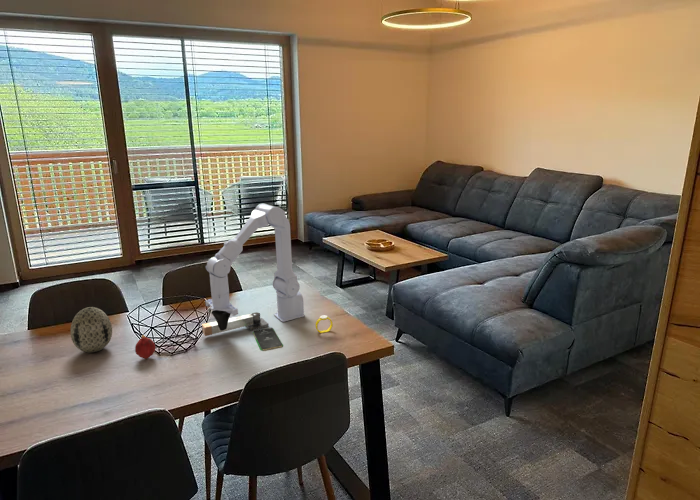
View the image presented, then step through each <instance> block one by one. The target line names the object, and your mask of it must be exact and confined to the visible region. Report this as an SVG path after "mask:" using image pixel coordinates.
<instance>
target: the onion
mask: <svg viewBox="0 0 700 500" xmlns="http://www.w3.org/2000/svg"><path fill="white" fill-rule="evenodd" d="M134 348H135V349H134V350H135V354H136V355H138V357H140V358H142V359H143V360H148V359H149V358H151V356H153V355H154V353H155V351H156V343H155V342H154V340H152V339H151V338H149V337H146V336H145V335H144V334H142V336H141V338H140V339H139V340H138V341H137V342H136V344H135V346H134Z"/></svg>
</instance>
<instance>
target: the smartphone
mask: <svg viewBox="0 0 700 500" xmlns="http://www.w3.org/2000/svg"><path fill="white" fill-rule="evenodd" d="M252 335H253V337H254V339H255V341H256V343H257V346H258V347H259V349H260V351H265V352H266V351H269V350H274V349H280V348H282V347H284V344H283V342H282V341H281V339H280V337H279V335H278V334H277V332H276V331H275V329H274V328H273V327H265V328H260V329H257V330H253V331H252Z"/></svg>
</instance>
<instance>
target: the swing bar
mask: <svg viewBox="0 0 700 500" xmlns="http://www.w3.org/2000/svg"><path fill="white" fill-rule="evenodd" d="M260 318H261V313H260V312H252V313H247V314H243V315H239V316H232V317H229V320H228V324H227V329H225V330H223V331H221V330H220V329H219V326H218V323H217V321H216V320H215V321H212V322H206V323H202V324H201V327H202V328H201V329H202V334H203V335H204V337H208V336H212V335H214V334H219V333H222V332H227V331H231V330H236V329H240V328H244V327H245V328H246V326H249V325H253V324H258V323H260V322H261V320H260Z"/></svg>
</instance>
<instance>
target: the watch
mask: <svg viewBox="0 0 700 500" xmlns="http://www.w3.org/2000/svg"><path fill="white" fill-rule="evenodd" d="M325 320H329V322H330V323H329V324H330V325H329V327H328V328H327V329H324V330H320V329H318V325H319V323H320V322H321V321H325ZM314 325H315V328H316V331H317V332H319V333H320V334H324V333H329V332H330V331H331V330H332V328H333V325H334V324H333V320H332V319H331V317H329V315H325V314H323V315H320V316H319V318H318V319H316V321H315V324H314Z"/></svg>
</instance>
